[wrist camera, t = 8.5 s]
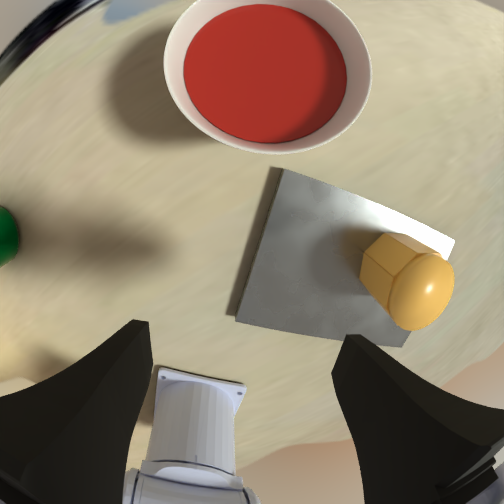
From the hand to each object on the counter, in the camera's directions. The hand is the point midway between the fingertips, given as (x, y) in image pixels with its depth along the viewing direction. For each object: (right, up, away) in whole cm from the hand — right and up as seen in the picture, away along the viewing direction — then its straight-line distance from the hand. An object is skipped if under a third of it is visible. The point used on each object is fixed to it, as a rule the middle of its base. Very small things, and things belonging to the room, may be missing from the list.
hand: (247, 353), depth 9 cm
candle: (+1, +14, +6) cm, 15 cm away
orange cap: (+10, +3, +9) cm, 14 cm away
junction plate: (+8, +2, +10) cm, 13 cm away
